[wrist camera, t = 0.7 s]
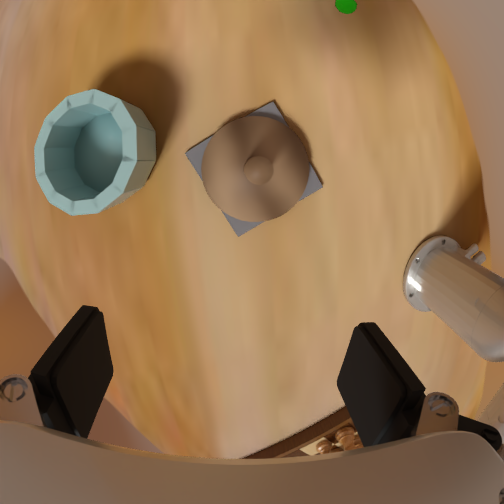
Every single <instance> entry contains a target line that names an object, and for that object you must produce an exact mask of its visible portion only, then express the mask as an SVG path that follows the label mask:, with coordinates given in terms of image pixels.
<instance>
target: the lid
mask: <svg viewBox="0 0 504 504" xmlns="http://www.w3.org/2000/svg"><path fill="white" fill-rule="evenodd" d="M201 173H202V180H203V184H204V187H205V189H206V192H207V194H208V195H209V197H210V199H211V200H212V201H213V203H214V204H215V205H216V206H217V207H218V208H219V209H221V210H222V211H223V212H224V213H226V214H228V215H229V216H231V217H234V218H236V219H239V220H242V221H248V222H263V221H268V220H272V219H274V218H277V217H279V216H281V215H283V214H284V213H286V212H287V211H289V210H290V209H291V208H292V207H293V206H294V205H295V204H296V203H297V202H298V201H299V199H300V198H301V196H302V195H303V193H304V191H305V188H306V185H307V182H308V177H309V161H308V156H307V153H306V150H305V147H304V145H303V143H302V142H301V140H300V139H299V137H298V136H297V135H296V134H295V133H294V132H293V131H292V130H291V129H290V128H289V127H287V126H286V125H284V124H283V123H281V122H279V121H277V120H274V119H271V118H268V117H262V116H248V117H243V118H239V119H236V120H234V121H232V122H230V123H228V124H226V125H225V126H223V127H222V128H221V129H219V130H218V131H217V132H216V133H215V134H214V136H213V137H212V138H211V140H210V141H209V143H208V144H207V146H206V149H205V151H204V154H203V158H202V164H201Z"/></svg>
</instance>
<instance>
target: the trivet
mask: <svg viewBox="0 0 504 504" xmlns="http://www.w3.org/2000/svg"><path fill="white" fill-rule="evenodd" d="M248 116H262V117H268V118H271V119H274V120H277V121H279V122H281V123H283V124H284V125H286V126H287V127H289V126H288V125H287V123H286V121H285V120H284V118H283V117H282V115H281V113H280V112H279V110H278V109H277V107H276V105H275V104H274V102H271V103H269V104H267V105H265V106H263V107H262V108H260V109H258V110H256V111H254V112H252V113H251V114H249V115H247V116H245V117H248ZM213 136H214V135H213ZM213 136H211V137H210V138H208V139H206V140H205V141H203V142H202V143H200V144H198V145H197V146H195V147H194V148H192V149H191V150H189V151H188V152H186V153H185V154H186V156H187V157H188V159H189V160H190V162H191V164H192V165H193V167H194V168H195V170H196V171H197V173H198V175H199V176H200V178H201V179H202V173H201V164H202V158H203V154H204V151H205V149H206V146H207V144H208V143H209V141H210V140H211V138H212V137H213ZM202 181H203V180H202ZM322 187H323V186H322V184H321V183H320V181H319V179H318V177H317V175H316V173H315V171H314V170H313V168H312V166H311V164H310V162H309V177H308V182H307V185H306V188H305V191H304V193H303V195H302V196H301V198H300V199H299V201H300V200H302V199H303V198H305V197H307V196H309V195H310V194H312V193H314V192H315V191H317V190H319V189H321V188H322ZM221 211H222V210H221ZM222 212H223V211H222ZM223 214H224V215H225V217H226V219H227V220H228V222H229V223H230V225H231V226H232V228H233V229H234V231H235V233H236V234H237V236H238V237H239V236H241V235H242V234H244V233H246V232H247V231H249V230H251V229H252V228H254V227H256V226H257V225H259V224H261V223H262V222H248V221H242V220H239V219H236V218H234V217H231V216H229V215H228V214H226V213H224V212H223ZM263 222H264V221H263Z"/></svg>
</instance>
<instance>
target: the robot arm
mask: <svg viewBox="0 0 504 504" xmlns="http://www.w3.org/2000/svg"><path fill="white" fill-rule="evenodd" d="M477 251H478V246H477V244H475V243H474V244H472V245H471V246H470V247H469V248H468V249H467V250H463V249H461V247H460V245H459V244H458V243H457V242H456V241H455V240H454V239H452V238H450V237H447V236H441V235H439V236H434V237H432V238H430V239H428V240H426V241H425V242H423V243H422V244H421V245H420V246H419V247H418V248H417V249H416V251H415V252H414V253H413V255H412V256H411V258H410V260H409V262H408V264H407V267H406V270H405V274H404V279H403V291H404V294H405V297H406V299H407V301H408V302H409V304H410V305H411V306H412V307H414V308H415V309H417V310H419V311H424V312H427V311H433V312H434V313H435V314H436V315H437V316H438V317H439V318H440V319H441V320H442V321H444V322H445V323H446V324H447V325H448V326H449V327H450V328H451V329H452V330H453V331H454V332H455V333H456V334H457V335H458V336H460V337H461V338H462V339H463V340H464V341H465V342H466V343H467V344H468V345H469V346H470V347H471V348H472V349H473V350H474V351H475V352H476V353H477V354H478V355H479V356H480V357H482V358H483V359H485V360H487V361H491V362H502V361H504V278H502V277H500V276H499V275H497V274H495V273H493V272H492V271H490V270H488V269H487V268H485V267H483V266H481V264H482V263H483V262H484V261H485V260H486V257H485V254H484V253H483V252H482V251H479V252H478V253H477V254H476V255H474V256H473V258H472V259H471V258H470V256H471V255H473V254H474V253H475V252H477ZM112 376H113V365H112V360H111V355H110V350H109V345H108V340H107V335H106V329H105V323H104V316H103V313H102V312H100V311H99V309H98V308H97V307H93V306H86V305H83V306H82V307H81V308H80V309H79V310H78V311H77V313H76V314H75V315H74V316H73V317H72V319H71V320H70V321H69V322H68V323H67V325H66V326H65V327H64V328H63V330H62V331H61V332H60V333H59V335H58V336H57V337H56V338H55V340H54V341H53V342H52V344H51V345H50V346H49V348H48V349H47V350H46V351H45V353H44V354H43V355H42V357H41V358H40V360H39V361H38V362H37V364H36V365H35V366H34V368H33V369H32V370H31V375H30V376H29V377H28V378H27V377H25V376H22V375H18V374H13V375H9V376H6V377H4V378H3V379H1V380H0V504H504V383H503V385H502V386H501V388H500V389H499V391H498V392H497V393H496V395H495V396H494V398H493V399H492V400H491V402H490V403H489V404H488V405H487V407H486V408H485V409H484V411H483V412H482V414H481V415H480V417H479V418H478V420H477V421H476V420H473V419H470V418H467V417H464V416H461V415H459V407H458V405H457V403H456V401H455V400H454V399H453V398H452V397H450V396H449V395H447V394H444V393H440V392H433V393H430V394H428V395H427V396H426V395H425V394H424V391H425V389H426V388H425V387H424V385H423V384H422V383H421V381H420V380H419V379H418V377H417V376H416V375H415V373H414V372H413V371H412V369H411V368H410V367H409V365H408V364H407V363H406V361H405V360H404V359H403V358H402V356H401V355H400V354H399V352H398V351H397V350H396V349H395V347H394V346H393V345H392V343H391V342H390V341H389V340H388V338H387V337H386V336H385V335H384V333H383V332H382V331H381V330H380V328H379V327H378V326H377V325H376V323H374V322H367V323H360V324H359V325H358V326H356V327H355V328H354V330H353V334H352V337H351V340H350V343H349V346H348V349H347V352H346V355H345V358H344V361H343V364H342V367H341V370H340V373H339V376H338V379H337V387H338V389H339V391H340V394H341V396H342V398H343V400H344V403H345V405H346V407H347V410H348V412H349V414H350V416H351V419H352V421H353V423H354V426H355V428H356V430H357V433H358V435H359V437H360V440H361V442H362V444H363V447H364V448H359V449H353V450H347V451H341V452H335V453H327V454H320V455H311V456H301V457H288V458H270V459H218V458H201V457H188V456H178V455H169V454H161V453H154V452H148V451H142V450H136V449H131V448H125V447H120V446H116V445H111V444H106V443H102V442H98V441H94V440H90V439H87V437H88V435H89V432H90V430H91V427H92V424H93V422H94V419H95V417H96V414H97V412H98V409H99V407H100V404H101V402H102V400H103V397H104V395H105V393H106V390H107V388H108V386H109V383H110V381H111V379H112Z"/></svg>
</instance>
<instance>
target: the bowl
mask: <svg viewBox="0 0 504 504" xmlns="http://www.w3.org/2000/svg"><path fill="white" fill-rule="evenodd" d="M34 150H35V173H36V179H37V181H38V183H39V185H40V187H41V188H42V190H43V192H44V194H45V196H46V198H47V199H48V201H49V203H51V204H53V205H54V206H56V207H58V208H59V209H61V210H63V211H65V212H66V213H68V214H70V215H72V216H73V215H83V214H93V213H99V212H102V211H104V210H106V209H108V208H111V207H113V206H115V205H117V204H120V203H122V202H124V201H125V200H126V199H128V198H129V197H130V196H132V195H133V194H134V193H136V192H137V191H138V190H140V189H141V188H142V187H144V185H145V183H146V181H147V179H148V176H149V174H150V172H151V170H152V168H153V166H154V164H155V162H156V132H155V130H154V128H153V127H152V125H151V124H150V122H149V120H148V119H147V117H146V116H145V114H144V112H143V111H142V109H140V108H138V107H136V106H134V105H132V104H130V103H128V102H125V101H123V100H121V99H119V98H116V97H114V96H112V95H109V94H106V93H104V92H101V91H99V90H96V89H92V90H88V91H84V92H80V93H77V94H73V95H70V96H67V97H66V98H65V99H64V100H63V101H62V102H61V103H60V104H59V105H58V106H57V107H56V108H55V109H54V110H53V111H52V112H51V113H50V114H49V115H48V116H47V117H46V118H45V120H44V123H43V125H42V128H41V131H40V133H39V136H38V139H37V141H36V144H35V147H34Z"/></svg>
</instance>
